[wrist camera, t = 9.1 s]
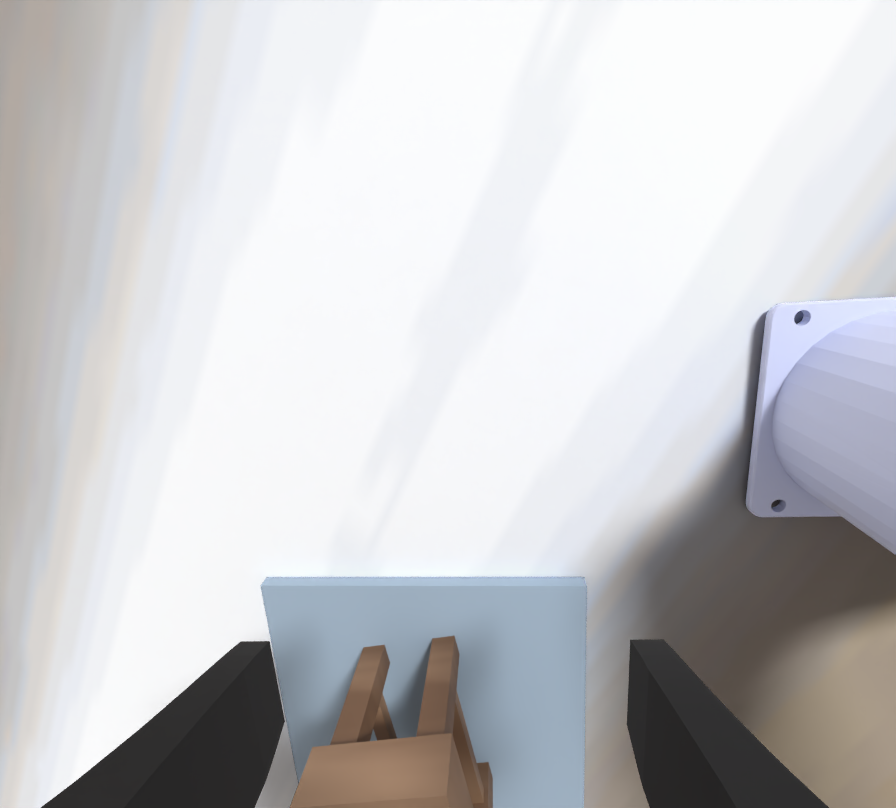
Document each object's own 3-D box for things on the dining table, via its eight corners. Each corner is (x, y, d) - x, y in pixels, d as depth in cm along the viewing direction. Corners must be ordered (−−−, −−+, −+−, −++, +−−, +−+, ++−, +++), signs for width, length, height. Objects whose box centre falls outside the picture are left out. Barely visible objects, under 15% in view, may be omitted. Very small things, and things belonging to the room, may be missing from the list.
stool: (502, 783, 23) (506, 994, 16) (402, 791, 24) (367, 996, 17) (461, 626, 21) (446, 795, 14) (352, 640, 22) (289, 807, 15)
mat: (584, 577, 20) (586, 586, 20) (581, 821, 24) (583, 834, 24) (266, 577, 22) (260, 585, 21) (309, 808, 26) (305, 820, 25)
